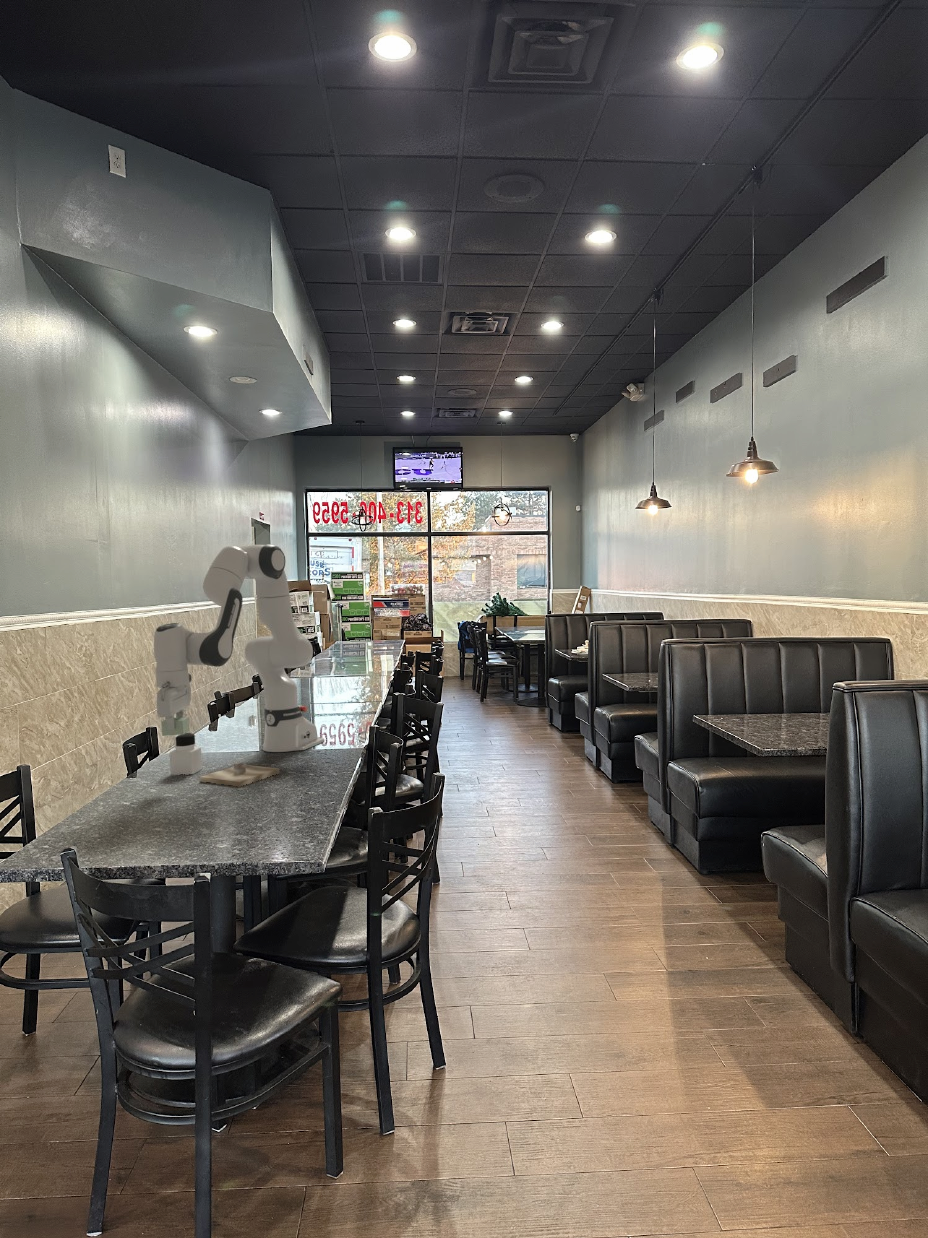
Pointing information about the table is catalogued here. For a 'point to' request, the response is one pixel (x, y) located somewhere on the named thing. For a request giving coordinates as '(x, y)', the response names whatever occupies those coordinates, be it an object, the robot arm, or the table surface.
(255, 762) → the table surface
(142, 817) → the table surface
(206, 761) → the table surface
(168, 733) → the green block with hole
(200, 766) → the medicine bottle
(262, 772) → the base plate
